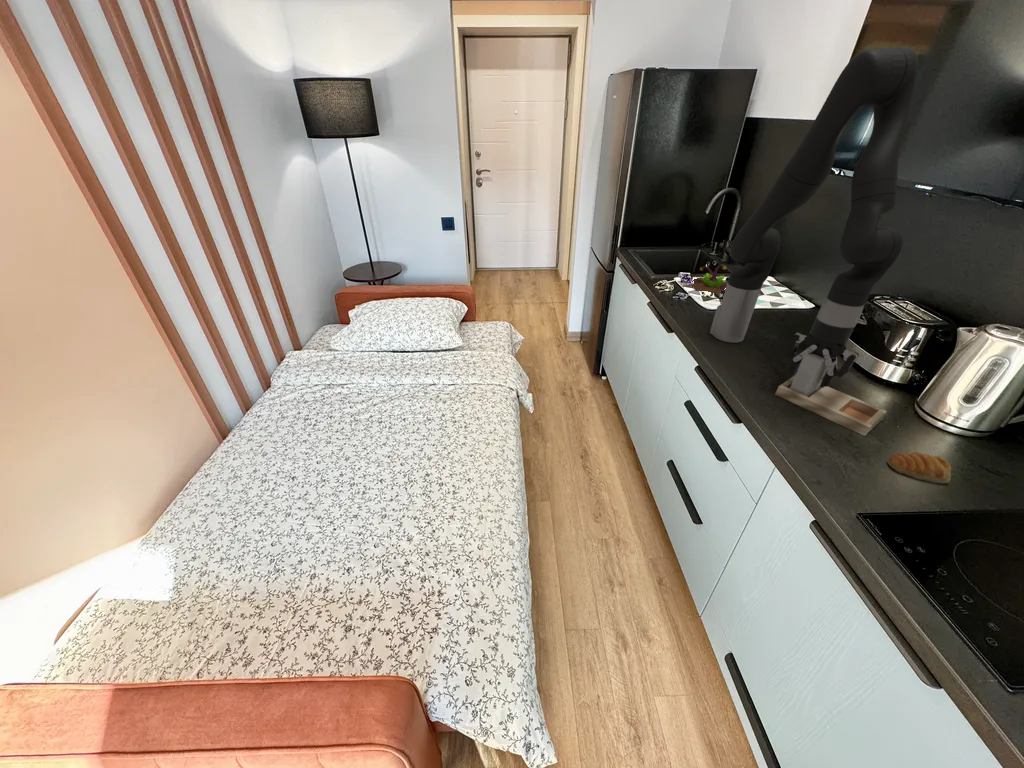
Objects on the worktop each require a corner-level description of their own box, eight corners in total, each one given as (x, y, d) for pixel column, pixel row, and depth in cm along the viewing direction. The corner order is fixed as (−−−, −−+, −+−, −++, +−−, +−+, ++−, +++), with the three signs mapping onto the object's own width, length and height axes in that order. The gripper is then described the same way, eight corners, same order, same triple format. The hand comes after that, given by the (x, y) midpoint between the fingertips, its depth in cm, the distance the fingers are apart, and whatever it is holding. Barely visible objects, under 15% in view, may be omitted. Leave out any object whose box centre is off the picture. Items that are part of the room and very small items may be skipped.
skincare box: (803, 403, 104) (823, 361, 98) (785, 394, 108) (803, 353, 101) (815, 395, 107) (836, 354, 100) (797, 387, 110) (816, 347, 104)
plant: (733, 306, 155) (743, 276, 148) (679, 295, 163) (686, 267, 157) (740, 288, 169) (748, 261, 163) (689, 279, 177) (696, 253, 171)
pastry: (894, 478, 84) (904, 464, 82) (879, 455, 90) (888, 442, 87) (950, 487, 82) (961, 473, 80) (930, 463, 88) (940, 449, 86)
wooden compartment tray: (775, 394, 108) (778, 386, 106) (793, 381, 113) (797, 373, 111) (864, 436, 94) (870, 427, 93) (881, 419, 99) (886, 411, 98)
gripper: (795, 312, 98) (771, 372, 108) (866, 335, 89) (832, 398, 98) (810, 304, 102) (785, 363, 111) (880, 326, 92) (846, 388, 102)
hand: (807, 379), depth 105 cm, fingers open, 6 cm apart
